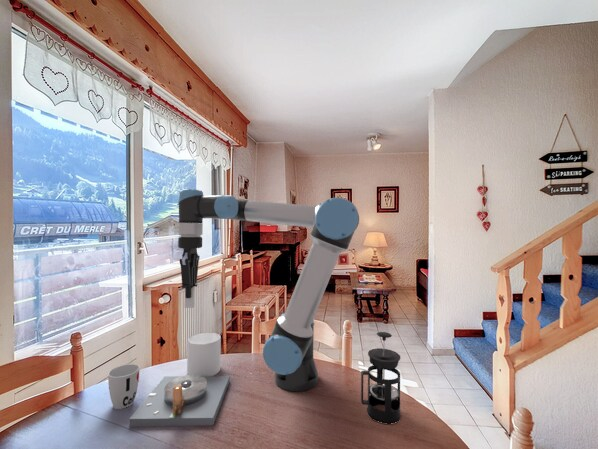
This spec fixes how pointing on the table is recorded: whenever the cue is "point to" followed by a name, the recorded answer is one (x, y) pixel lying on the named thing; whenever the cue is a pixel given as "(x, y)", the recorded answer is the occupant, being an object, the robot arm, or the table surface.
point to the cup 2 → (204, 354)
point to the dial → (184, 391)
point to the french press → (382, 384)
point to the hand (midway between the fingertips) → (189, 307)
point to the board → (192, 414)
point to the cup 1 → (123, 385)
